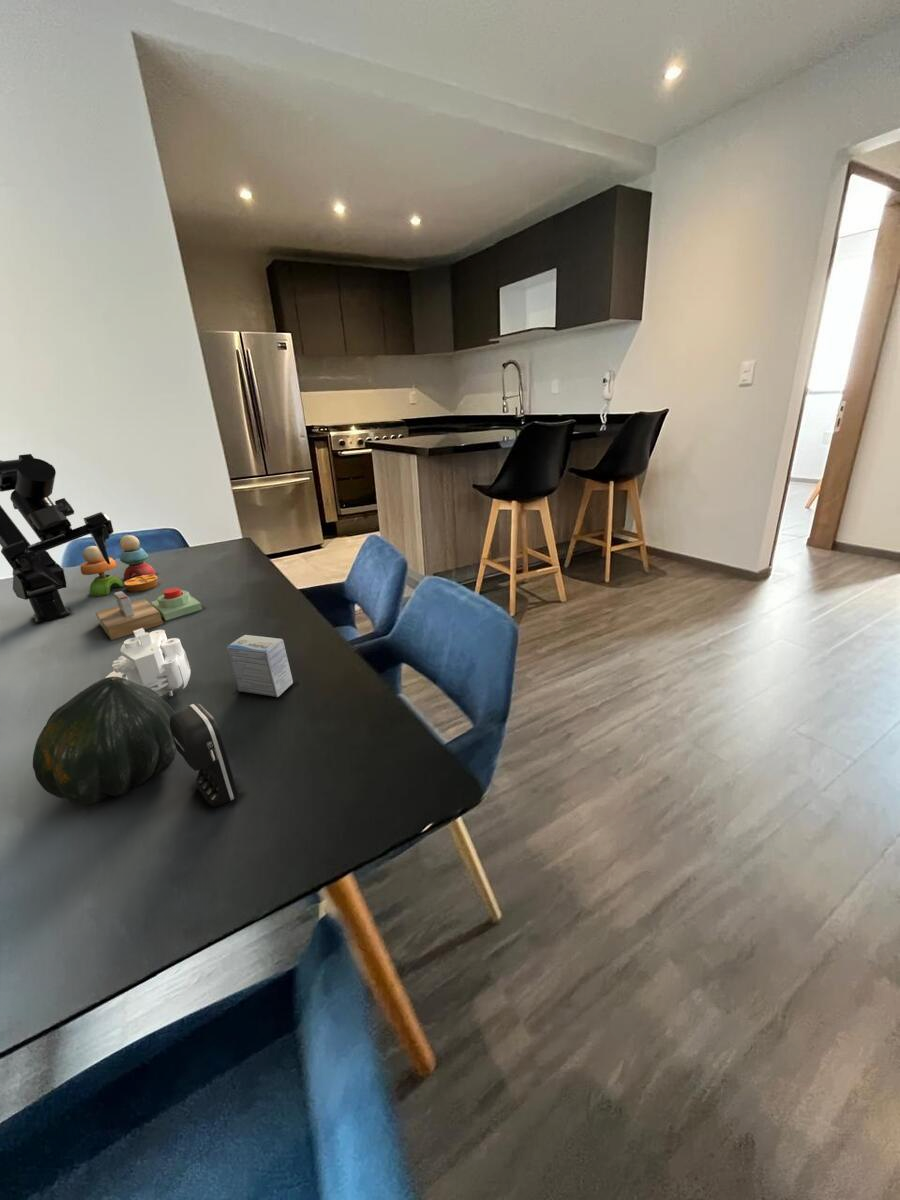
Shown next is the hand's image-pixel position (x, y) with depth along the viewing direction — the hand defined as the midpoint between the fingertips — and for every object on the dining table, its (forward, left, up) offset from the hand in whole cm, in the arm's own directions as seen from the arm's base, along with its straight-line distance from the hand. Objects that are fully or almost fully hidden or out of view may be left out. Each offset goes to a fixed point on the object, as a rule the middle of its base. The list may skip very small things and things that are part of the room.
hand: (85, 573), depth 100 cm
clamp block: (-3, +5, -14) cm, 15 cm away
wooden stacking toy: (-35, +13, -14) cm, 40 cm away
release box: (-4, +15, -14) cm, 21 cm away
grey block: (-3, +5, -11) cm, 12 cm away
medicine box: (+47, +14, -14) cm, 51 cm away
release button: (-4, +15, -11) cm, 19 cm away
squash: (+53, -8, -14) cm, 56 cm away
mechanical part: (+36, 0, -14) cm, 39 cm away
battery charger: (+65, -1, -14) cm, 67 cm away
